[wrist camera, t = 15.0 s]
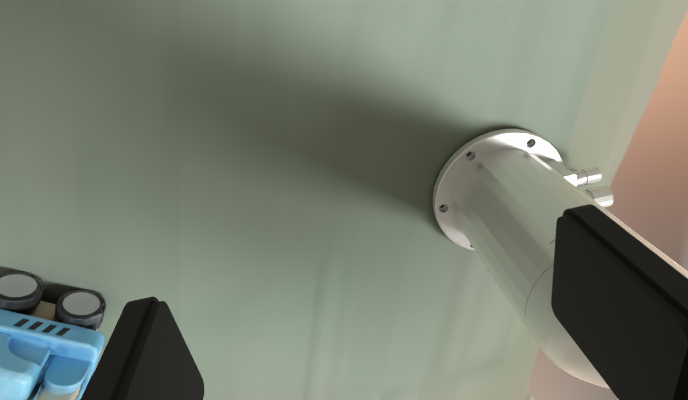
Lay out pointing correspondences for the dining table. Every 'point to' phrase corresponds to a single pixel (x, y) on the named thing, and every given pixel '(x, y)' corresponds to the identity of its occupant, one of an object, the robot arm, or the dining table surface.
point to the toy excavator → (47, 340)
